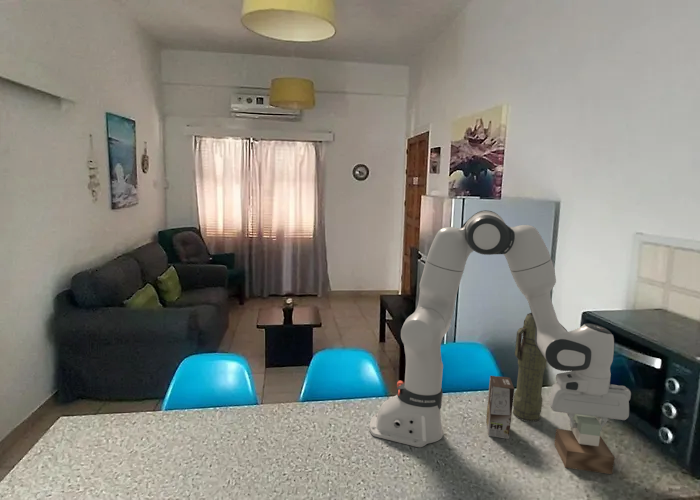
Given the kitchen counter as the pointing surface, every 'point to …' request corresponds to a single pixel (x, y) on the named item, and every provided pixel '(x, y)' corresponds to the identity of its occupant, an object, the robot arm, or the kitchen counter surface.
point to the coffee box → (499, 406)
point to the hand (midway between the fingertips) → (585, 428)
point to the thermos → (528, 373)
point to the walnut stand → (583, 453)
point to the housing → (587, 430)
